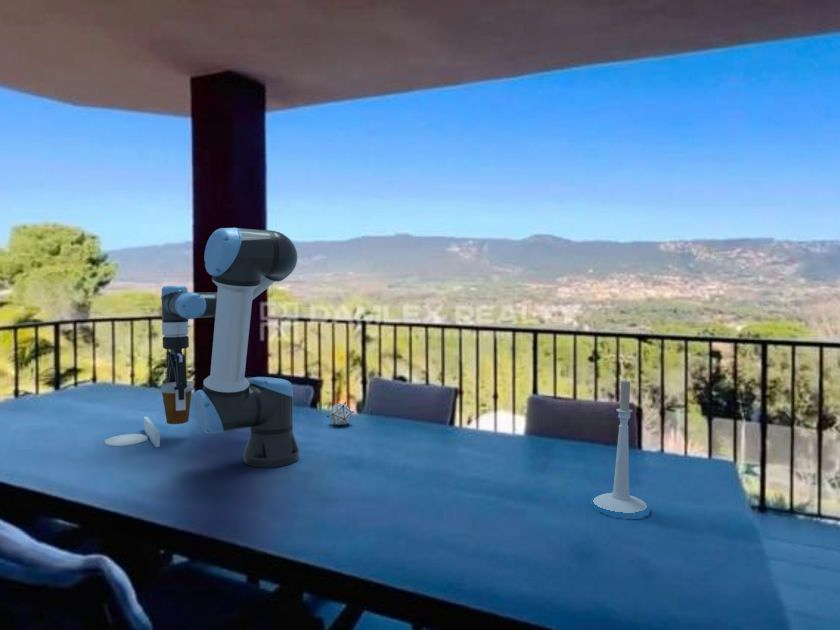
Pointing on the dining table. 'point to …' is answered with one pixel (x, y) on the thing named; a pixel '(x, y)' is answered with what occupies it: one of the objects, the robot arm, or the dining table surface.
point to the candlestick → (621, 465)
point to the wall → (152, 432)
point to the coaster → (126, 440)
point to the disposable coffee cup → (170, 403)
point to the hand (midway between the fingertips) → (177, 407)
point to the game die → (340, 414)
